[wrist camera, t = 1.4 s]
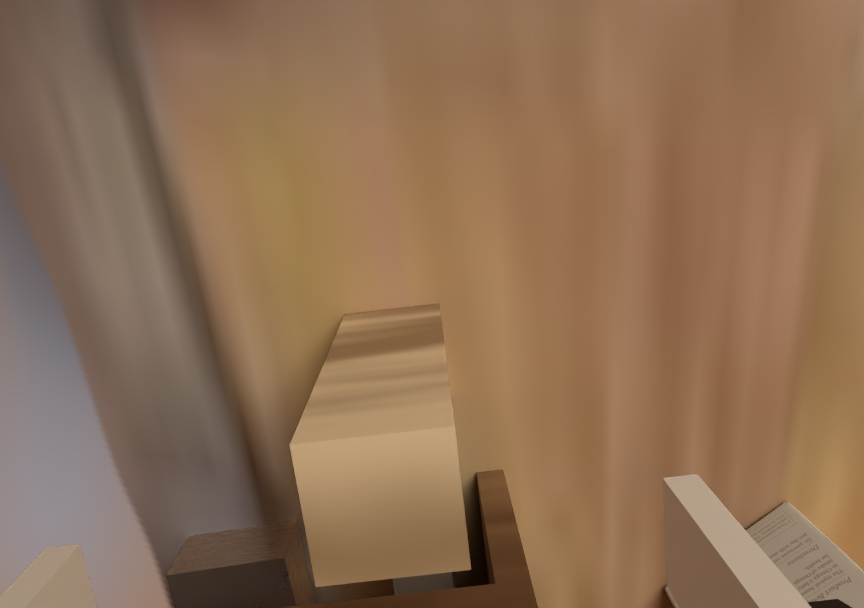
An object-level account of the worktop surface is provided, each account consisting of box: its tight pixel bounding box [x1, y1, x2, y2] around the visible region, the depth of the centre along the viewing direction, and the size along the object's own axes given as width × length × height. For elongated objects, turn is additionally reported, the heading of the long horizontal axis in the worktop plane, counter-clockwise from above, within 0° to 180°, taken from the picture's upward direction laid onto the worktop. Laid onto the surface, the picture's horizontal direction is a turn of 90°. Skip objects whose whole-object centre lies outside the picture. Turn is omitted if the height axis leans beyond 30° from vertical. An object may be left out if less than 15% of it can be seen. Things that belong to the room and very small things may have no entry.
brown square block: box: [166, 520, 316, 608], centre depth 29 cm, size 5×5×3 cm
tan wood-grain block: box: [290, 304, 471, 595], centre depth 23 cm, size 17×4×12 cm, turn 7°
